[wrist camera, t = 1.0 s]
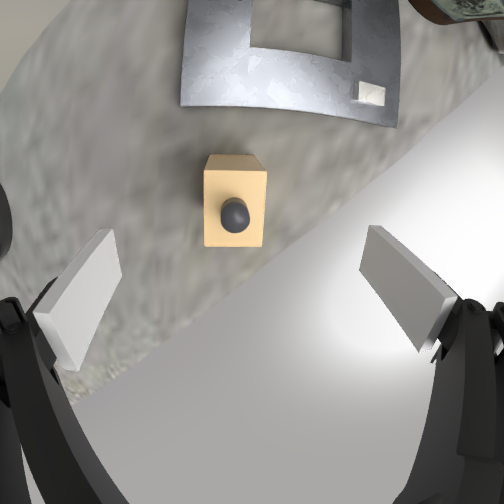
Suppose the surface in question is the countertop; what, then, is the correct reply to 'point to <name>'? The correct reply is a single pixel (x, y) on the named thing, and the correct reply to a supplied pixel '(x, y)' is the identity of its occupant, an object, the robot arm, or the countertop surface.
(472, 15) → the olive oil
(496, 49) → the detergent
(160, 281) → the countertop surface
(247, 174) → the plug
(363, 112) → the socket plate
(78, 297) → the robot arm
